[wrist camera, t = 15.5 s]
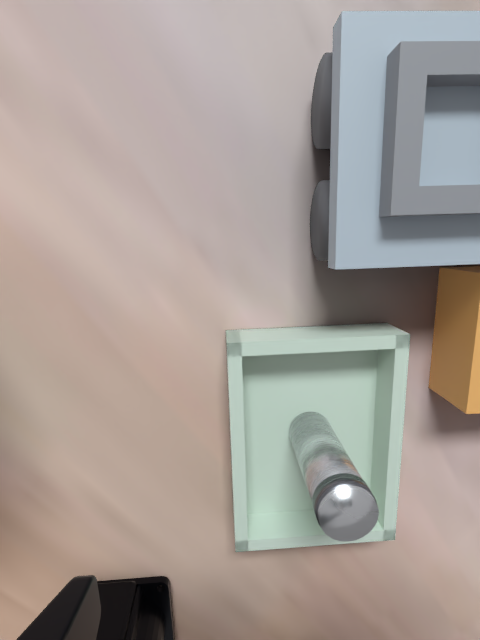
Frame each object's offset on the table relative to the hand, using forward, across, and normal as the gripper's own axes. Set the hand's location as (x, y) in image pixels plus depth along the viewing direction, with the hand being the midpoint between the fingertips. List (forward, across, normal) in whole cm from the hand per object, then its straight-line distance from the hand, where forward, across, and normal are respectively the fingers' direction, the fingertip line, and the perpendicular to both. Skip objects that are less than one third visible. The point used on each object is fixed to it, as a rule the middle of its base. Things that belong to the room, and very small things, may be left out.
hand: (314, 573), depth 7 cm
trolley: (+13, -8, -10) cm, 18 cm away
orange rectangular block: (+13, -12, -1) cm, 18 cm away
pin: (+12, -3, +4) cm, 13 cm away
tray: (+13, -3, +4) cm, 14 cm away
